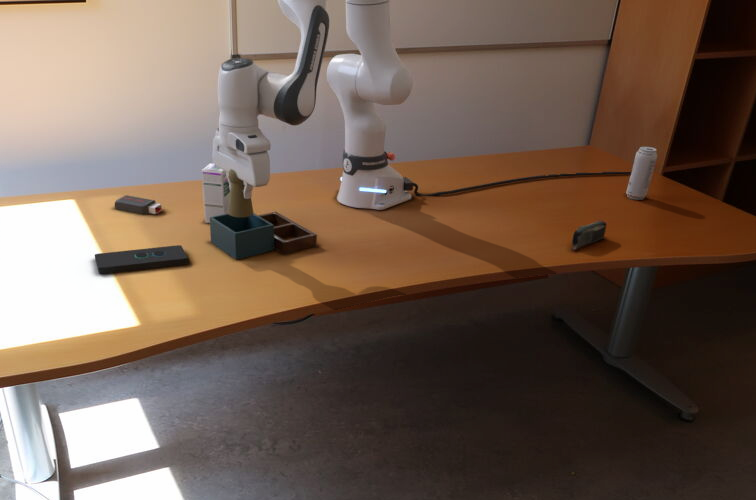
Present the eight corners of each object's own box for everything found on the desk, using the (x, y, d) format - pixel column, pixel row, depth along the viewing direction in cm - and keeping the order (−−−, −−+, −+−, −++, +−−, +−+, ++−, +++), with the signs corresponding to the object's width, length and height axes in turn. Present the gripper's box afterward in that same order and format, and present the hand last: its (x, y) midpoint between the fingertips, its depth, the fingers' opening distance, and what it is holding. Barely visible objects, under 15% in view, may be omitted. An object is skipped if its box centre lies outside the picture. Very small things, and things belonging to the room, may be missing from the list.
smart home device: (188, 257, 171) (98, 267, 164) (188, 264, 172) (99, 274, 165) (181, 244, 178) (94, 253, 171) (181, 250, 179) (95, 260, 172)
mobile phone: (599, 218, 198) (569, 229, 189) (609, 221, 196) (580, 233, 187) (595, 235, 200) (565, 248, 191) (605, 239, 199) (576, 251, 189)
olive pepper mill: (251, 218, 175) (250, 172, 170) (226, 216, 175) (224, 171, 170) (254, 209, 181) (254, 164, 175) (230, 207, 181) (228, 163, 175)
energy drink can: (628, 192, 233) (641, 144, 225) (648, 197, 230) (661, 148, 222) (622, 197, 228) (635, 148, 221) (642, 201, 226) (655, 152, 218)
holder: (275, 222, 197) (275, 211, 196) (316, 245, 185) (316, 234, 184) (244, 229, 192) (243, 218, 190) (283, 254, 180) (283, 242, 178)
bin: (248, 233, 190) (247, 209, 186) (274, 250, 182) (273, 224, 178) (210, 242, 184) (209, 217, 180) (236, 259, 176) (235, 233, 172)
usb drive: (126, 202, 204) (125, 193, 203) (164, 209, 201) (163, 200, 200) (114, 208, 200) (113, 199, 199) (153, 216, 197) (152, 206, 195)
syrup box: (225, 225, 194) (223, 171, 186) (204, 223, 194) (201, 168, 187) (232, 218, 198) (230, 164, 191) (211, 215, 199) (209, 162, 192)
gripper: (204, 126, 174) (207, 184, 181) (250, 148, 160) (251, 209, 167) (228, 123, 177) (229, 180, 184) (274, 144, 163) (275, 204, 171)
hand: (240, 194), depth 176 cm, fingers closed on olive pepper mill, 4 cm apart
